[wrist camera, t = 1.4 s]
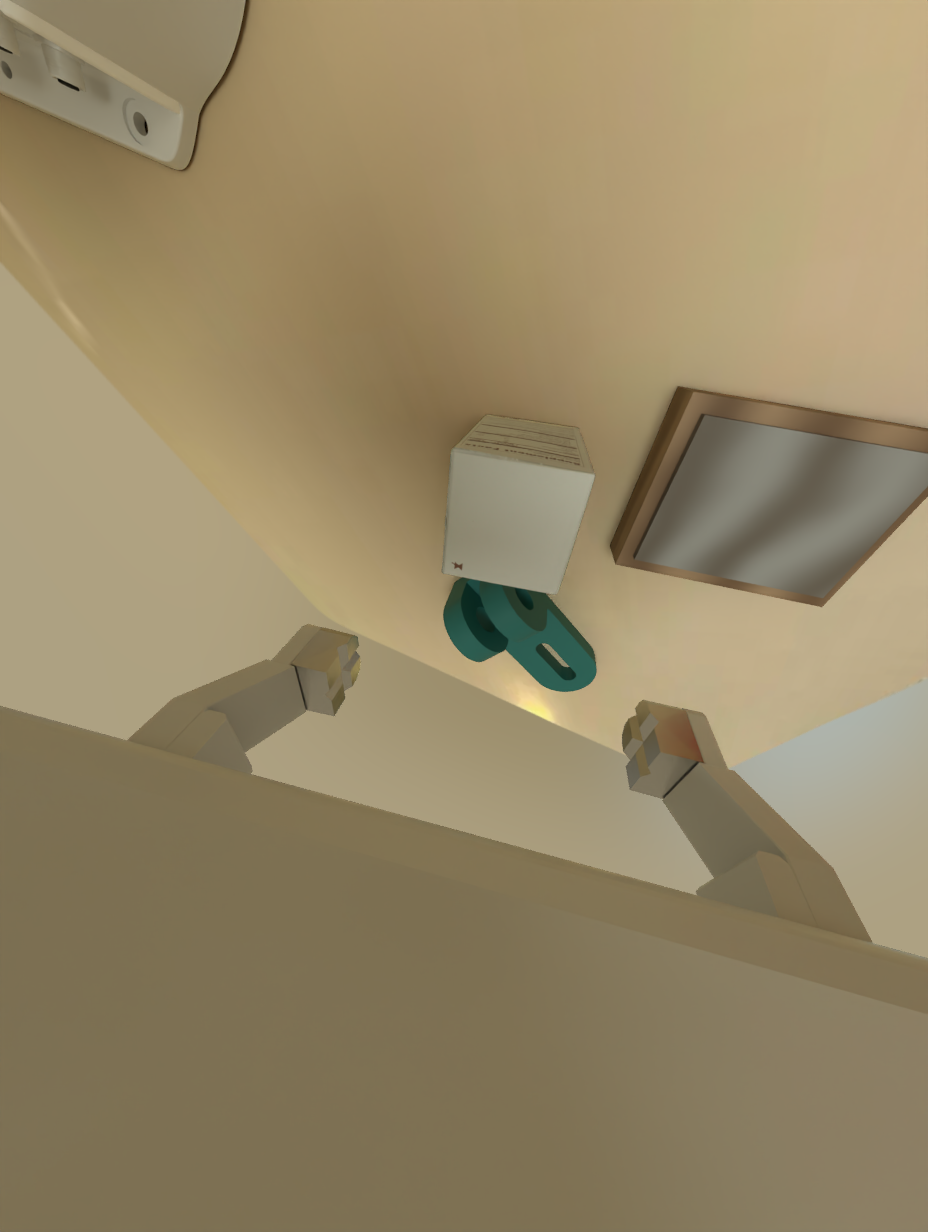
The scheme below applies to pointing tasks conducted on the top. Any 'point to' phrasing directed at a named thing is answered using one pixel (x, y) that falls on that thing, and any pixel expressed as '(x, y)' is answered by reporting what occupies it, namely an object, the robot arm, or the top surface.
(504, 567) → the supplement box
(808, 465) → the walnut stand
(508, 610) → the bracket
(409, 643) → the top surface
